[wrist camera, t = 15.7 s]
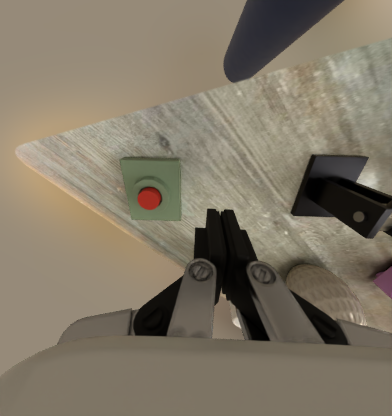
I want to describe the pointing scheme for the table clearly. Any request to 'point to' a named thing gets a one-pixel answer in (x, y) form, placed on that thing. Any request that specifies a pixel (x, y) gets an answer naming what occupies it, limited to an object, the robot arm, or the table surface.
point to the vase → (326, 292)
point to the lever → (388, 224)
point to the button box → (153, 186)
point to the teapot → (385, 281)
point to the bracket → (342, 194)
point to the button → (149, 198)
